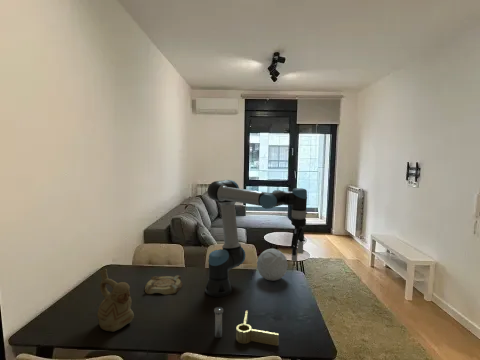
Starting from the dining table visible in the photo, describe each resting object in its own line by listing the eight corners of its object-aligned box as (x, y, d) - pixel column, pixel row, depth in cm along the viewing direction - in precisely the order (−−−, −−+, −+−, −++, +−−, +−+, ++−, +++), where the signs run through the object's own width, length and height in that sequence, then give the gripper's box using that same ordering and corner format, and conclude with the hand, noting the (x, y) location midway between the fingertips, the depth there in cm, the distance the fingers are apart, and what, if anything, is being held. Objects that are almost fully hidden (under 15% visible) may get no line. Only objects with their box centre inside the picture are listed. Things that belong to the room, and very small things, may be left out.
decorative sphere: (293, 256, 202) (286, 248, 186) (286, 286, 195) (278, 281, 179) (266, 250, 211) (257, 242, 195) (259, 278, 204) (249, 273, 188)
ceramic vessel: (112, 340, 130) (110, 283, 128) (85, 325, 140) (84, 273, 138) (143, 321, 144) (143, 271, 142) (117, 310, 154) (116, 262, 152)
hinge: (228, 339, 131) (228, 328, 131) (245, 319, 147) (246, 309, 146) (273, 353, 122) (273, 341, 122) (286, 330, 138) (286, 320, 137)
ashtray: (170, 299, 167) (170, 290, 167) (135, 292, 175) (135, 284, 174) (191, 282, 190) (191, 274, 189) (158, 277, 197) (158, 269, 197)
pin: (212, 336, 133) (212, 310, 132) (216, 332, 136) (217, 306, 135) (220, 339, 131) (220, 312, 130) (224, 334, 135) (224, 308, 134)
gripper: (300, 223, 146) (298, 265, 148) (310, 214, 169) (309, 251, 171) (285, 221, 149) (284, 263, 151) (297, 213, 172) (296, 249, 174)
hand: (297, 256), depth 161 cm, fingers open, 13 cm apart
